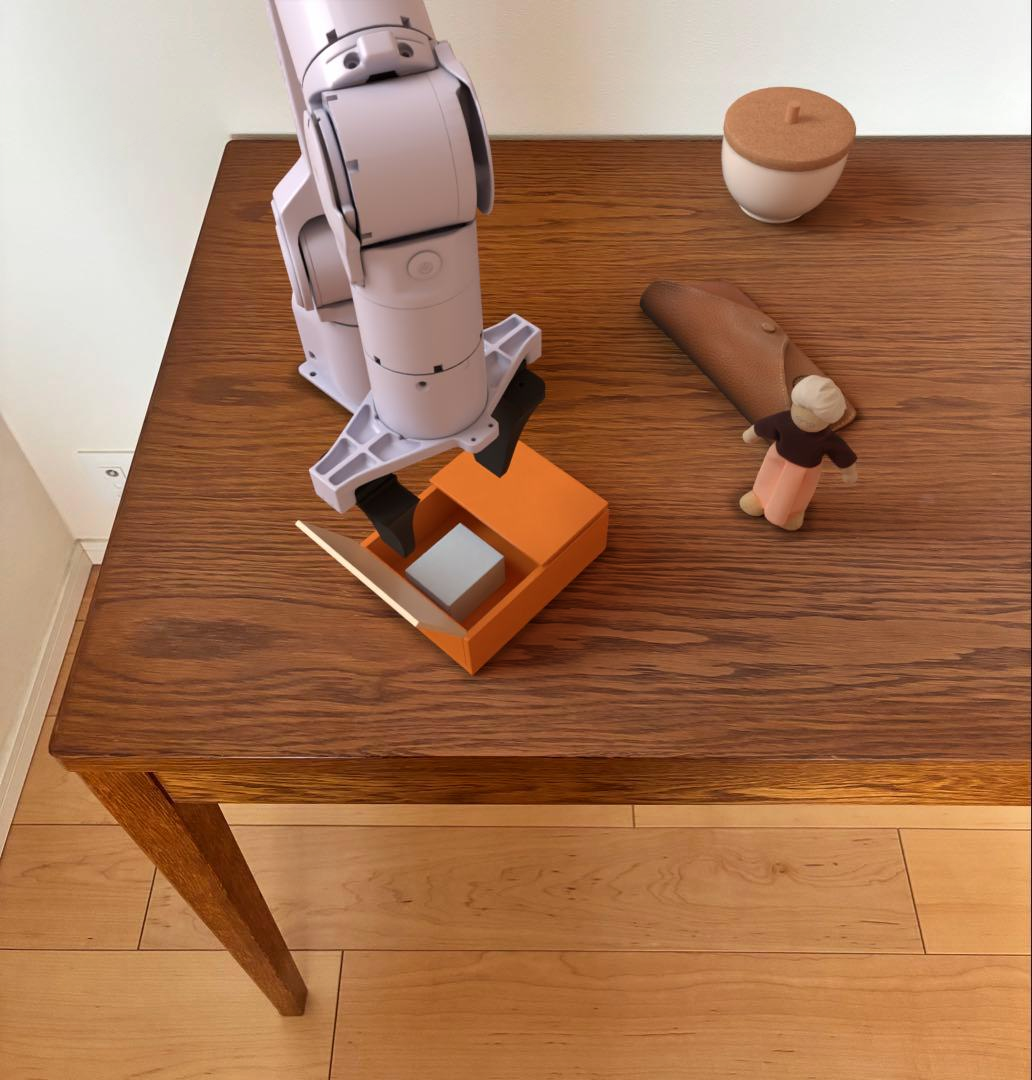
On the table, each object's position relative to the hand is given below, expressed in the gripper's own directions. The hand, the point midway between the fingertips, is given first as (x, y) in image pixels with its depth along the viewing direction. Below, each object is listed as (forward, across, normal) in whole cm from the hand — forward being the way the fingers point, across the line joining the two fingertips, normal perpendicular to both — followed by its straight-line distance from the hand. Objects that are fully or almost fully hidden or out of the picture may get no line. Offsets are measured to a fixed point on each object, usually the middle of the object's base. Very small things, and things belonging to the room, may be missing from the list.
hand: (445, 504), depth 57 cm
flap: (+2, -5, 0) cm, 6 cm away
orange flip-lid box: (+10, +3, 0) cm, 10 cm away
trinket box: (+10, +48, +8) cm, 49 cm away
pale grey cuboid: (+9, 0, 0) cm, 9 cm away
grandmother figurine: (+10, +20, -12) cm, 25 cm away
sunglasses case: (+10, +30, -2) cm, 31 cm away
